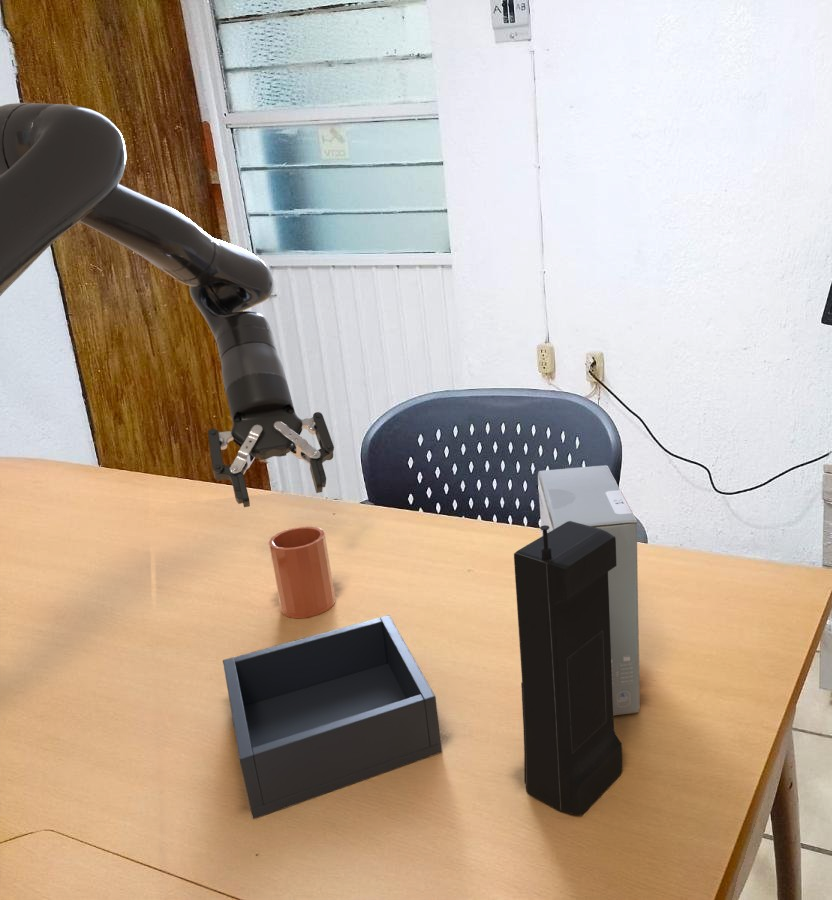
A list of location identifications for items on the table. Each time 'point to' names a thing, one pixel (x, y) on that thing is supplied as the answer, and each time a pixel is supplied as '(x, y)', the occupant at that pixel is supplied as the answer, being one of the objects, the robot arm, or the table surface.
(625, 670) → the hard drive box
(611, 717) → the portable radio
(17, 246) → the robot arm
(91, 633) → the table surface
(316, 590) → the pot
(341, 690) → the open box
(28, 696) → the table surface
